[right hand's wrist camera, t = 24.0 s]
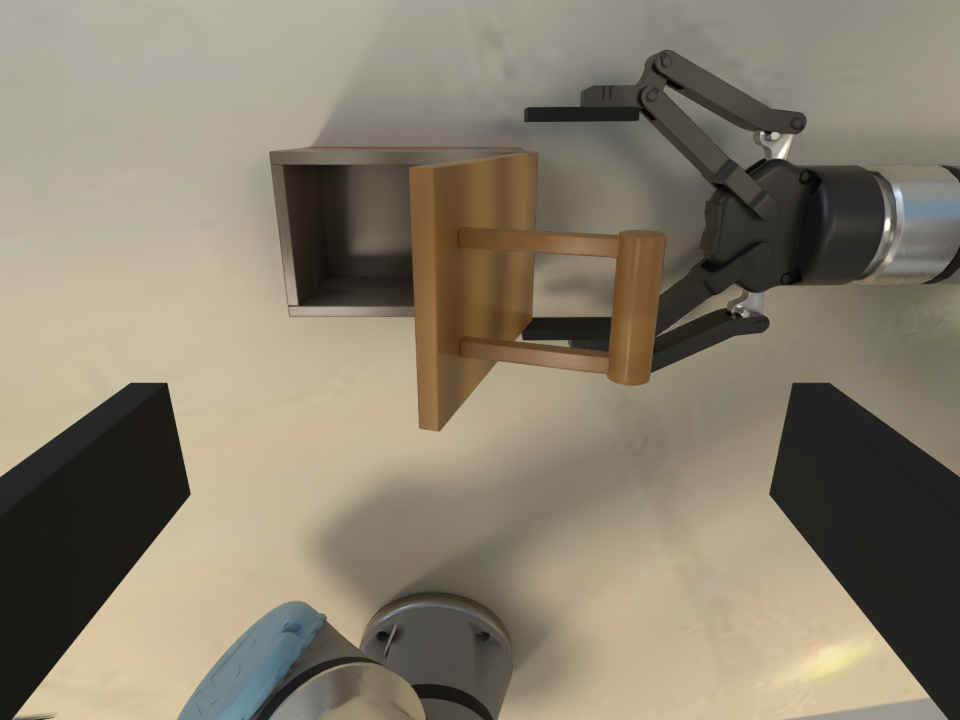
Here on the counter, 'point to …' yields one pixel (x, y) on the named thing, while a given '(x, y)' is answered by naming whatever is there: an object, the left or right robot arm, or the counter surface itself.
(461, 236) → the lid
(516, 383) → the counter surface
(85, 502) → the right robot arm
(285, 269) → the chest
